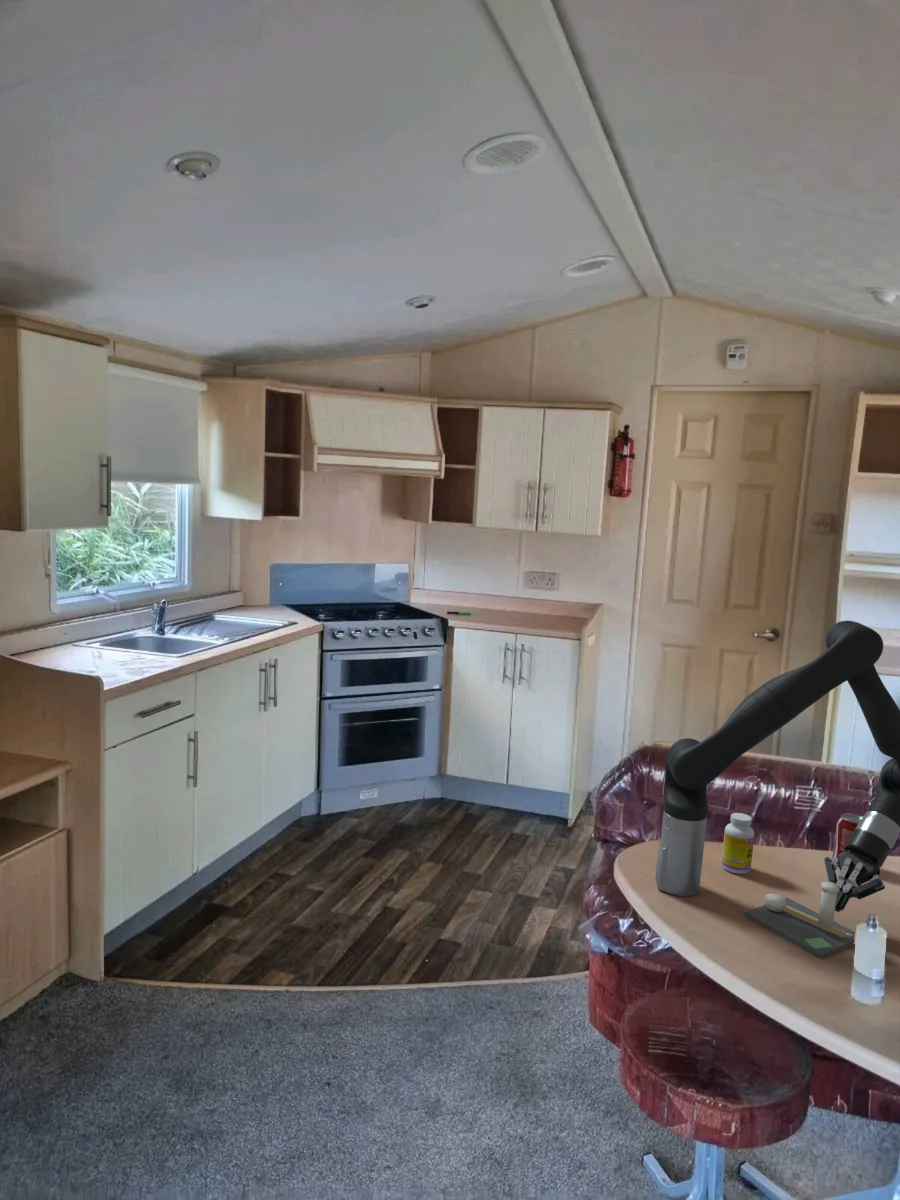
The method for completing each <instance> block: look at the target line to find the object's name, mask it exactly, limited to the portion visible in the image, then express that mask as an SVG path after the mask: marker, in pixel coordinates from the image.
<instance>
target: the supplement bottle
mask: <svg viewBox="0 0 900 1200" xmlns="http://www.w3.org/2000/svg"><path fill="white" fill-rule="evenodd" d="M752 821H753V818H752V817H751V815H748V814H746V813H742V812H741V813H740V812H733V813H731V814H730V823H728V824H727V825H726V826H725V828H724V836H723V843H722V844H723V846H722V854H721V861H720V864H721V867H722V868H723V869H724V870H725V871H727V872H729V873H733V874H737V875H739V874H740V875H744V874H748V873H749V872H750V871H751V868H752V859H753V851H754V843H755V842H754V841H755V830H754V829H753V827H751V825H752Z"/></svg>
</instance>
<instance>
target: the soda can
mask: <svg viewBox="0 0 900 1200" xmlns="http://www.w3.org/2000/svg"><path fill="white" fill-rule="evenodd" d="M862 817H863V816H862V815H859V814H857V813H851V812H850V813H849V812H847V813H841V815H840V818H839V819H838V820H836V821H837V822H836V830H835V836H834V844H833V845H834V847H833V852H832V859H833V858H838V856H839V854H841V853H842V852H843V851H844V850H845V847H846V844H847V843H848V841H849V839H850V837H851V836H852V834H853V832H854V830H855V829H856V827H857V825H858V823H859V822H860V820H861V819H862ZM838 866H839V864H838Z"/></svg>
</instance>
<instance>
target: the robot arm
mask: <svg viewBox="0 0 900 1200" xmlns="http://www.w3.org/2000/svg"><path fill="white" fill-rule="evenodd" d="M825 636H826V637H825V647H826V650H825V651H824V652H822V653H820V655H819V656H818V657H816V658H815V659H813V660H812V661H811V660H810V662H808V663H807V664H804V665H802V666H799V667H797V668H794V669H792V670H789V671H787V672H785V673H782V674H780V675H778V676H775V677H773V678H771V679H770V680H767V681H766V682H765V683H763V684H761V686H759V687H758V688H757V689H755V690H754V691H752V692H751V693H750V694H748V696H746V697H745V698H744V699H743V700H742V701H741V702H740V703H739V705H738V706H737V707H736V708H735V710H734V711H733V712H732V713H731V715H729V717H728V718H727V720H726V721H725V723H724V724H723V725H722V726H721V727H720V728H718V730H716V731H715V732H714V733H712V734H711V735H709V736H708V737H707V738H705V739H703V741H698V740H697V739H694V738H690V737H689V738H688V737H687V738H680V739H679V740H677V741H675V742H674V743H673V744H672V745H670V748H669V749H668V751H667V754H666V761H665V769H664V780H663V781H664V785H663V799H664V801H663V802H664V805H663V806H664V807H663V816H662V817H663V818H662V825H661V826H662V827H661V834H660V835H661V836H660V838H659V840H658V849H657V859H656V869H655V882H656V887H657V890H658V891H660V892H661V891H662V892H664V893H665V892H666V893H667V894H668V893H669V894H670V895H673V896H674V895H675V896H679V897H691V896H696V895H697V894H698V893H699V892H700V888H701V882H702V881H701V879H702V877H701V876H702V868H703V861H704V860H703V857H704V851H705V850H704V848H705V840H706V830H707V820H708V811H709V810H708V809H709V803H708V795H707V786H708V785H709V784H710V783H711V782H713V781H714V780H716V778H717V777H719V776H720V775H721V774H722V773H723V772H724V771H725V770H726V769H727V768H729V767H730V766H731V765H732V764H733V763H734V762H735V761H736V760H738V759H739V758H740V757H741V756H743V755H744V754H746V753H747V752H748V751H750V750H752V749H753V748H755V747H756V746H757V745H758V744H760V743H761V742H763V741H764V740H766V738H768V737H769V736H771V735H772V734H774V733H775V732H777V731H778V730H780V729H782V728H783V727H784V726H785V725H787V724H788V723H790V722H791V721H792V720H794V719H795V718H797V716H799V715H800V714H802V713H803V712H804V711H806V710H807V709H808V708H810V707H811V706H812V705H814V704H815V703H816V702H818V701H819V700H820V699H822V698H823V697H824V696H826V695H827V694H829V692H831V691H833V690H834V689H835V688H837V687H839V686H840V685H842V684H843V683H846V682H848V685H849V687H850V688H851V690H852V692H853V694H854V697H855V699H856V701H857V703H858V705H859V708H860V710H861V713H862V714H863V717H864V718H865V721H866V723H867V726H868V728H869V731H870V734H871V735H872V738H873V739H874V740H873V741H874V742H875V745H876V746H877V748H878V750H879V752H880V753H881V754H882V755H885V756H887V757H889V758H890V759H889V760H888V761H887V762H885V763H884V765H883V766H882V768H881V770H880V773H879V778H878V782H877V787H876V792H875V797H874V798H873V800H872V802H871V804H870V806H869V807H868V809H867V811H866V812H865V814H864V815H863V816H862V819H861V820H860V822H859V823H858V825H857V827H856V829H855V830H854V832H853V834H852V836H851V837H850V839H849V841H848V843H847V844H846V847H845V850H844V851H843V852H842V853H841V854H839V856H838V858H833V857H832V858H830V857H828V856H826V857H824V864H825V871H826V875H827V879H828V880H827V881H828V882H832V883H835V884H837V885H838V886H839V887H840V888H839V892H838V893H837V898H836V906H835V912H837V913H840V912H841V911H843V910H844V909H845V908H846V906H847V904H848V903H849V900H850V899H852V898H856V899H857V900H862V899H864V898H866V897H869V896H871V895H874V894H876V893H878V892H880V891H883V890H885V889H886V885H885V884H884V882H883V881H882V879H881V878H880V874H881V871H880V870H881V868H882V866H883V865H884V863H885V861H886V860H887V858H888V856H889V854H890V853H891V850H892V849H893V847H894V846H895V844H896V842H897V840H898V836H899V834H900V708H899V707H898V705H897V703H896V701H895V699H894V698H893V697H892V695H891V694H890V692H889V690H888V689H887V687H886V686H885V685H884V683H883V681H882V679H881V677H880V675H879V673H878V671H877V669H876V666H875V664H876V663H877V662H878V661H879V660H880V658H881V657H882V654H883V650H884V640H883V638H882V636H881V635H880V634H879V633H878V632H877V631H876V630H874V629H873V628H871V627H869V626H866V625H864V624H862V623H860V622H857V621H855V620H854V621H853V620H841V621H838V622H836V623H835V624H833V625H832V626H831V627H830V628H829V629H828V631H827V633H826V635H825ZM838 864H839V865H838ZM838 867H839V874H838V876H837V869H838Z"/></svg>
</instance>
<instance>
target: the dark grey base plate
mask: <svg viewBox="0 0 900 1200" xmlns="http://www.w3.org/2000/svg"><path fill="white" fill-rule="evenodd" d="M784 898H785V900H786V901H785V905H787V906H790V907H792V908H794V909H796V910H799V911H801V912H803V913H805V914H808V915H810V916H812V917H814V918H817V919H818V917H819V912H817V911H815V910H812V909H811V908H808V907H807V906H805V905H802V904H801V903H799V902H797V901H794V900H793V899H790V898H789V897H784ZM744 916H745V917H746V918H748V919H750V920H752V921H753V922H755V923H758V924H759V925H760V926H762V927H764V928H766V929H768V930H770V931H772V932H773V933H775V934H776V935H779V936H781V937H783V938H784V939H786V940H787V941H789V942H791V943H793V944H795V945H797V946H798V947H801V948H802V949H804V950H806V951H808V952H810V953H811V954H813V955H815V956H817V957H819V958H821V959H823V958H826V957H828V956H830V955H832V954H834V952H835V953H836V951H837V952H839V951H841V949H842V950H844V949H846V948H845V947H847V948H848V946H849V947H851V946H854V945H853V943H854V934H855V931H854V930H852V929H850V928H848V927H846V926H844V925H842V924H840V923H838V922H836V921H835V920H834V921H833V926H835V927H837V928H839V929H842V930H844V931H846V936H845V937H840V936H838V935H836V934H834V933H831V932H829V931H827V930H825V929H823V928H820V927H818V926H816V925H814V924H811V923H809V922H807V921H805V920H803V919H800V918H798V917H796V916H794V915H791V914H789V913H787V912H785V911H782V912H776V911H772V910H769V909H767V908H766V907H765V906H764V905H760V906H758V907H755V908H753V909H749V910H747V911H744ZM843 948H844V949H843ZM827 955H828V956H827Z"/></svg>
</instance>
